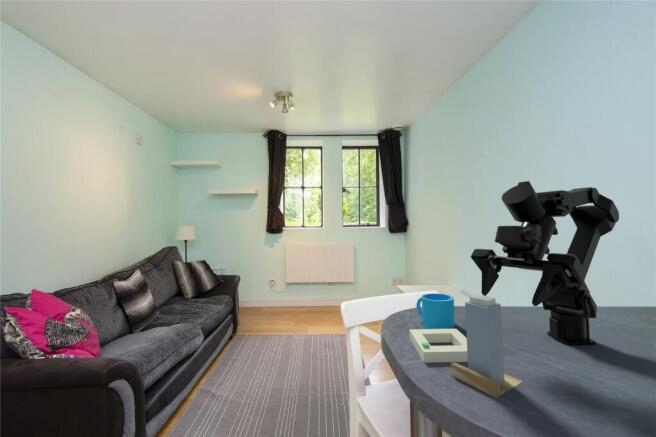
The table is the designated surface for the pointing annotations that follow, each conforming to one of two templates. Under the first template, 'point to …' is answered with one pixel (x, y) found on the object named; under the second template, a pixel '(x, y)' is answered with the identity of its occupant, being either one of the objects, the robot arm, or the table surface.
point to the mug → (437, 311)
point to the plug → (484, 337)
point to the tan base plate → (484, 380)
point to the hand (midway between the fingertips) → (506, 299)
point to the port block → (439, 353)
